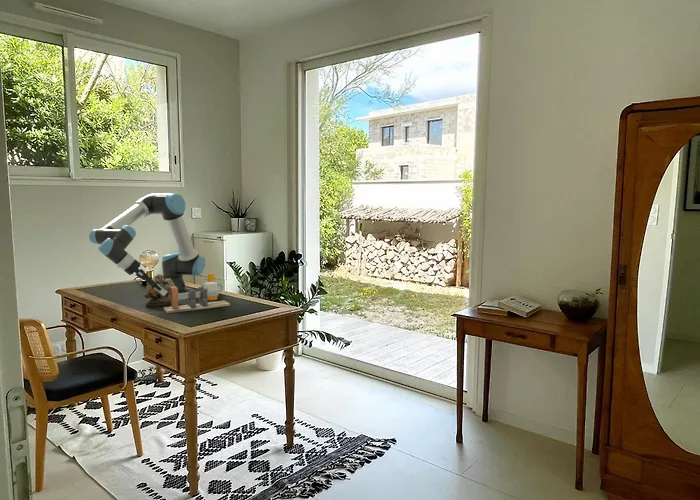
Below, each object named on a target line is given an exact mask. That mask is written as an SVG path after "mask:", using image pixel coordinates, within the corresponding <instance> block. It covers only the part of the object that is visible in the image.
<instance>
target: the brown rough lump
mask: <svg viewBox="0 0 700 500" xmlns="http://www.w3.org/2000/svg"><path fill="white" fill-rule="evenodd" d="M152 280H154V281H155V282H156V283H157V284H159V285H160V286H161V287H162V288H163V289H165V290H166V291H167V293H166V294H165V295H164V296H163V295H162V294H160V293H159V292H158V291H157V290H155V289H154V288H153V289H152V286H151V285H150V284H148V283H147V282H146V292H145V293H143V294H142V295H143V296H144V297H145V299H150V300H149V301H147V302H146V303H145V304H144V305H145V307H147V308H154V309H155V308H160V307H161V308H165V307H171V300H170V287H175V284H174V283H173V282H172V280H171V279H169V278H168V279H165V280H164V281H163V274H161V273H157V274H155V275H154V276H153V277H152Z"/></svg>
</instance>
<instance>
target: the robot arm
mask: <svg viewBox="0 0 700 500" xmlns="http://www.w3.org/2000/svg"><path fill="white" fill-rule="evenodd" d="M186 208H187V207H186V202H185V199H184V197H183V196H182V195H181V194H179V193H173V192H162V193H161V192H154V193H150V194H147V195H145V196H143V197H141V198H139V199H138V200H137V201H134V203H133V205H132V206H131V207H130V208H128V209H127V210H125V211H124V212H123V213H121V214H120V215H118V216H117V217H115V218H114V219H113V220H111V221H110V222H108V223H107V224H105V225H104V226H103V227H101V228H94V229H92V230H90V232H89V234H88V235H89V236H88V238H89V240H90V242H91V243H92V244H95V245H99V246H98V248H97V250H98V251H99V252H100V253H101V254H102V255H103V256H104V257H106V258H107V259H108V260H110V261H111V262H112V263H113V264H115V265H116V267H117V268H118V269H119V268H120V269H121V270H124V272H125V273H126V274H127V275H129V276H132V275H133V274H134V273H135V276H136V277H137V278H139V279H140V280H142V281H145V282H146V284H147V283H148V284H150V285H151V286H152V289H153V288H154V289H155V290H157V291H158V292H159V293H160V294H162V295H163V296H164V295H165V294H166V293H167V291H166V290H165V289H163V288H162V287H161V286H160V285H159V284H157V283H156V282H155V281H154V280H152V278H153V277H152V276H149V275H148V274H147V273H146V272H145V270H143V268H140V267H141V264H142V263H141V262H139V261H138V260H137V259H135V257H134V256H133V255H131V254H130V253H129V252H127V251H126V249H127V248H128V246H129V245H130V244H131V243H132V242H133V240H134V239H135V237H136V236H137V231H136V230H135V228H133V227H132V226H133V225H134V224H135V223H137V222H138V221H139V220H141V219H142V218H146V217H148V216H149V215H156V214H157V215H161V216H162V219H163V220H164V221H166V222H167V224H168V226H169V229H170V232H171V234H172V237H173V239H174V243H175V245H176V247H177V250H178V252H177V253H175V252H174V253H169V254H164V255H162V257H161V267H162V269H161V270H162V275H163V278H162V280H163V281H164V280H165V279H168V278H169V279H171V280H172V282H173V283H174V284H175V286H176V287H178V293H184V292H187V285H186V282H185V280H184V275H186V276H200V275H202V274H203V273H204V271H205V268H206V259H205V257H204V256H202V255H201V256H200V254H199V251H198V250H196V249H194V248H195V247H194V245H193V241H192V240H191V239H192V238H191V236H190V234H189V231H188V228H187V225H186V223H185V220H184V217H183V216H184V214H185V211H186Z"/></svg>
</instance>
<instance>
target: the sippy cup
mask: <svg viewBox="0 0 700 500" xmlns="http://www.w3.org/2000/svg"><path fill="white" fill-rule="evenodd" d="M206 275H207V277H206V278H207V280H206V282H215V283H216V278H215V275H216V274H215V273H214V272H209V273H206ZM217 284H218V286H219V287H220V289H218V292H221V291H222V290H223V285H222V284H220V283H217ZM200 287H204V288H205V286H204V284H202V285H201V286H200ZM217 300H218V295H216V296H207V301H209V302H213V301H217Z"/></svg>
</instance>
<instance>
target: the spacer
mask: <svg viewBox="0 0 700 500" xmlns="http://www.w3.org/2000/svg"><path fill="white" fill-rule="evenodd" d="M218 284H219V283H217V282H216V281H215V282H208V281H206V282H204V284H203V285H204V289H207V291H208V292H213V291H218V290H219V289H218V288H219V287H218V286H219V285H218ZM218 292H219V291H218Z"/></svg>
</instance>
